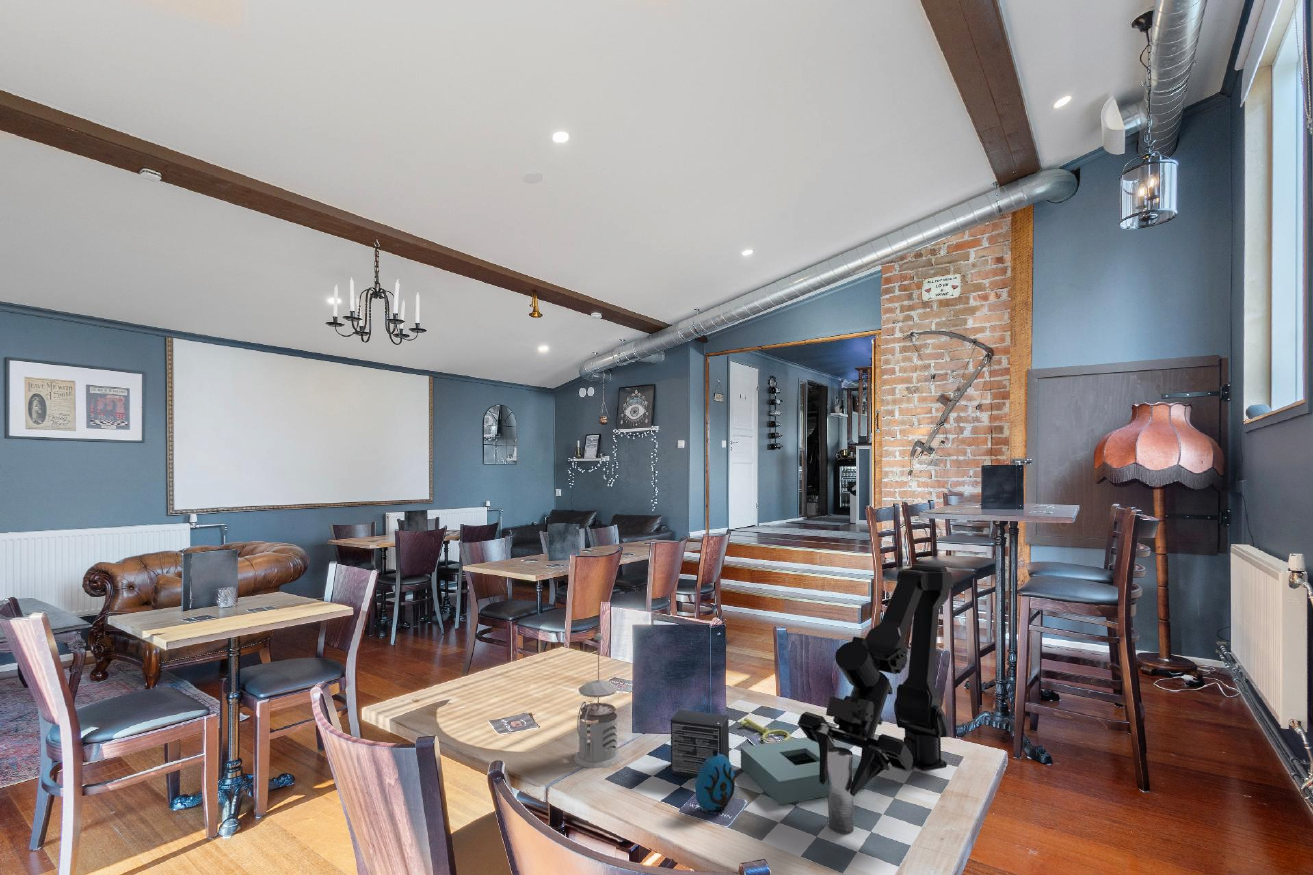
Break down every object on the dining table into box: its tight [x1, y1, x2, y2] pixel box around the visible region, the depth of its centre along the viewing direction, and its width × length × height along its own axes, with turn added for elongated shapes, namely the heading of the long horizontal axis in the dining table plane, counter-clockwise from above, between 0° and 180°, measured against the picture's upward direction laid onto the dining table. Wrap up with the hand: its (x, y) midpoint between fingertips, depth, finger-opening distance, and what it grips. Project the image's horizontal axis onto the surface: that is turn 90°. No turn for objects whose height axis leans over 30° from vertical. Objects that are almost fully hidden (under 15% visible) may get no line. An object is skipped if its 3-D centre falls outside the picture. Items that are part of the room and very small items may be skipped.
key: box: [739, 717, 792, 742], centre depth 142 cm, size 7×12×2 cm, turn 54°
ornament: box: [694, 749, 736, 811], centre depth 111 cm, size 8×5×10 cm, turn 126°
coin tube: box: [827, 746, 855, 835], centre depth 105 cm, size 4×4×12 cm
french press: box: [573, 632, 623, 769], centre depth 131 cm, size 10×12×25 cm
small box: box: [669, 709, 730, 779], centre depth 125 cm, size 11×6×10 cm, turn 71°
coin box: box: [740, 736, 867, 806], centre depth 122 cm, size 18×15×4 cm
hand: (836, 788), depth 104 cm, fingers open, 5 cm apart
